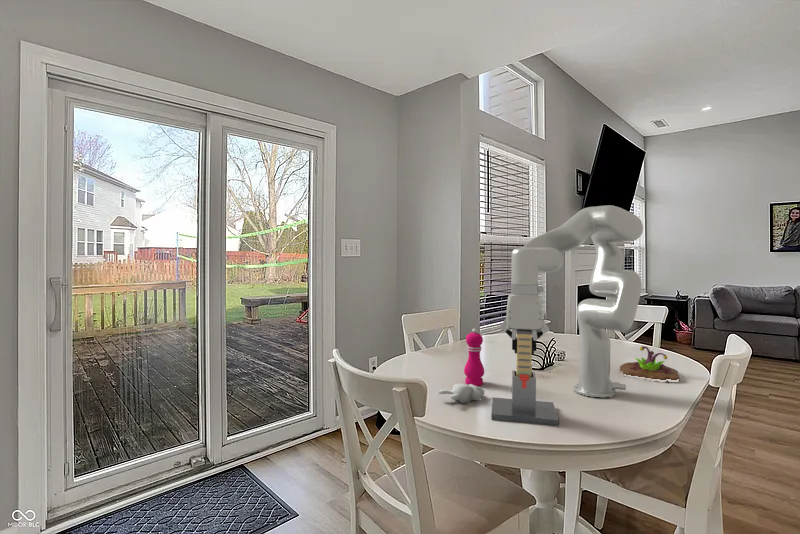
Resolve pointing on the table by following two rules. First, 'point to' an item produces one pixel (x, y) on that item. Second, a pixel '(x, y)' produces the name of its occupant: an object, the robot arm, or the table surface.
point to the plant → (649, 368)
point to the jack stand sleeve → (524, 404)
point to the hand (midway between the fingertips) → (524, 352)
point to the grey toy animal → (464, 392)
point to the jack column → (524, 352)
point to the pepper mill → (474, 359)
